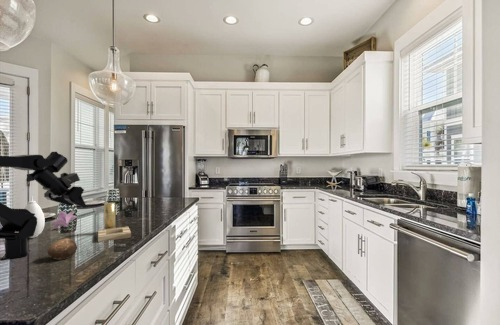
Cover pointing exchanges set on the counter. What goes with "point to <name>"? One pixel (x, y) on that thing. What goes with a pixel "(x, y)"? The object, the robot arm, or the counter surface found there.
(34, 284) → the counter surface
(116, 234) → the jig
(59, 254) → the potato
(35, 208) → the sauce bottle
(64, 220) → the lily
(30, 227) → the robot arm
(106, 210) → the brass cylinder peg
